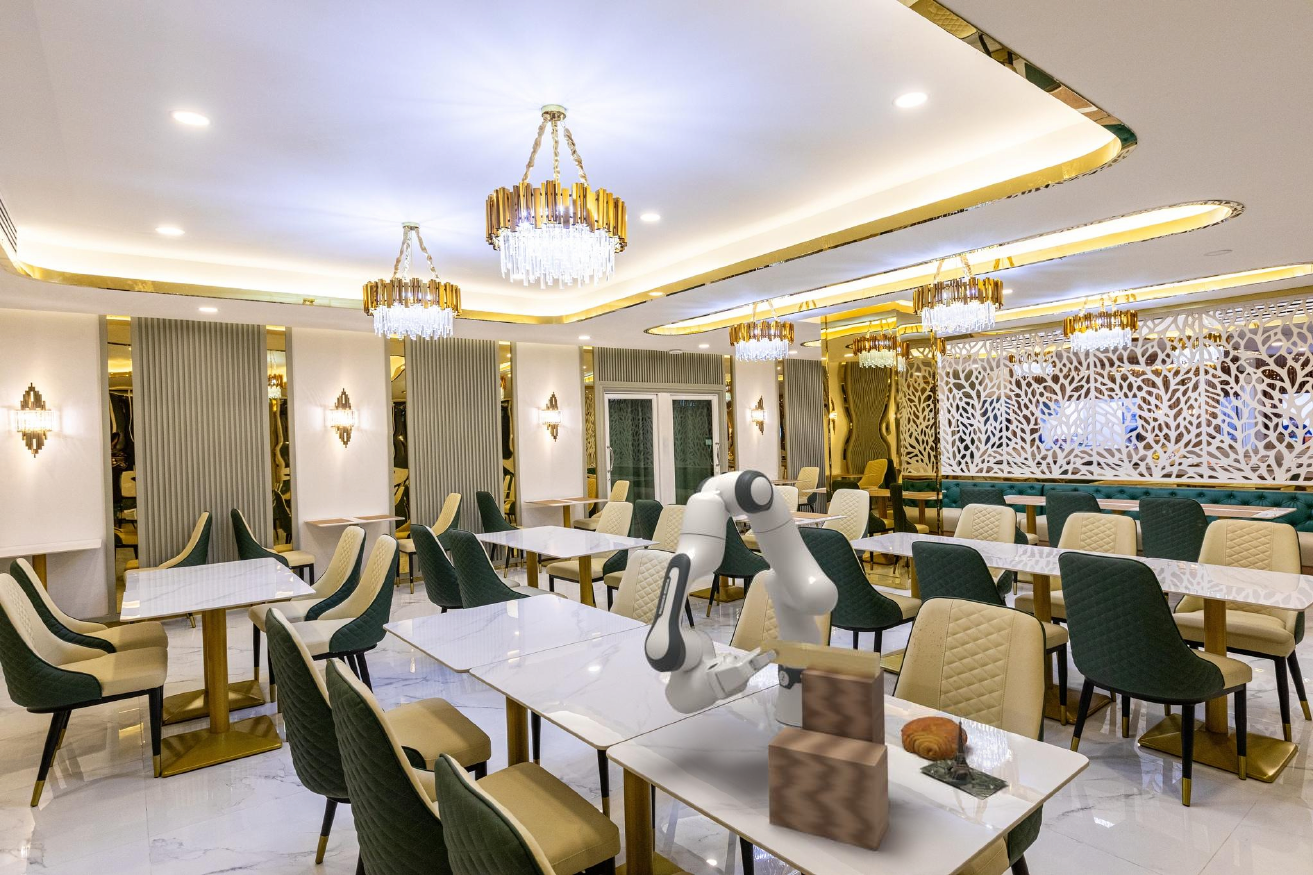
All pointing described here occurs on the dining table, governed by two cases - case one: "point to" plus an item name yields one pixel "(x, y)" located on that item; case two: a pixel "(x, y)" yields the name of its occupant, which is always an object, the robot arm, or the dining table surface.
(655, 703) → the dining table surface
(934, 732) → the croissant
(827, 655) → the rail
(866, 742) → the stand
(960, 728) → the eiffel tower figurine
